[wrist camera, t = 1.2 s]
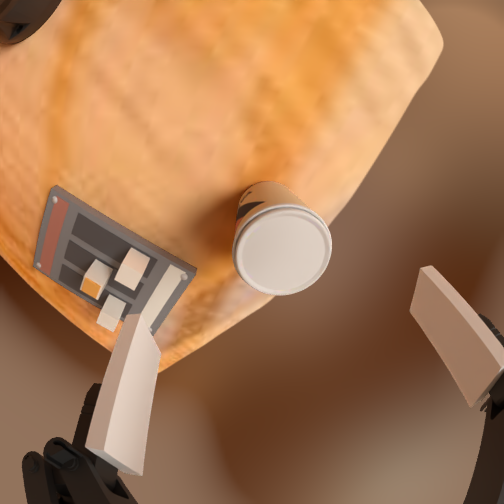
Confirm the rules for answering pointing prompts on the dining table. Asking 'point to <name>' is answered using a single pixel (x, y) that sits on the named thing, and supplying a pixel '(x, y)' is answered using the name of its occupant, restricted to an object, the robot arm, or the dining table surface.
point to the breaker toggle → (96, 279)
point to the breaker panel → (108, 262)
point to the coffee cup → (279, 240)
